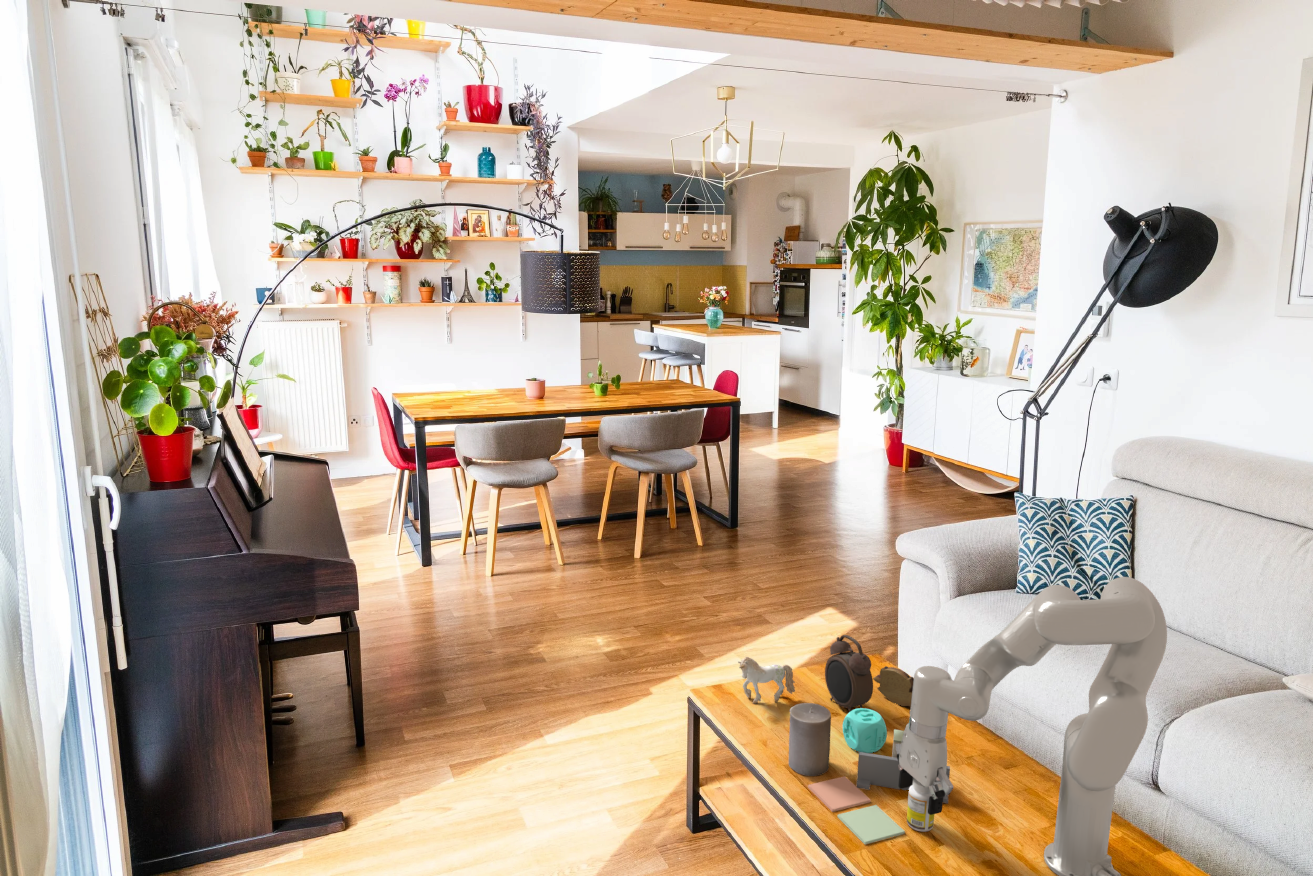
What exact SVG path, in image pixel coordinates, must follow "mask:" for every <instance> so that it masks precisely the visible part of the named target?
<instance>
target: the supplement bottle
mask: <svg viewBox="0 0 1313 876" xmlns="http://www.w3.org/2000/svg"><path fill="white" fill-rule="evenodd" d="M930 796H932V795H931V792H930V789H929V787H926V786H924V785H922V784H921V783H920V782H919V781H917V780H916V779H915V778H914V780H913V785H911V786H910V788H909V791H908V796H907V810H906V811H907V812H906V822H907V825H908V826H909V827H910V828H911V829H912V830H914V831H918V832H925V833H926V832H929V831H931V830H932V829H933V827H934V825H935V824H934V823H935V814H933V815H930V814H928V805H929V797H930Z"/></svg>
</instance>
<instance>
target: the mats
mask: <svg viewBox="0 0 1313 876" xmlns="http://www.w3.org/2000/svg"><path fill="white" fill-rule="evenodd" d="M807 788H808V789H809V791H811V792H812V793H813V794H814V795H815V796H816V797H817V798H818V799H819V801H821V802H822V803H823V804H824V805H825V806H826V807H827V808H828V809H829V810H830V812H832V813H834V812H837V811H841V810H846V809H849V808H853V807H858V806H862V805H865V804H869V803H871V801H872V800H871V799H870V798H869V797H868V795H866V794H865V793H864V792H863V791H862V790H861V789H860V788H857V787H856V784H854V783H853V782H852V781H851V780H850V779H848V777H846V776H845V775H844V776H841V777H835V778H832V779H828V780H823V781H819V782H814V783H810V784H808V785H807ZM836 816H837V819H839V821H841V822H842V823H843V824H844V825H845V826H846V827H847V828H848V829H849V830H850V832H852V833H853V835H855V837H856V838H858V839H859V840H860V841H861V843H863V844H864V845H868V844H872V843H875V842H879V841H880V842H881V841H883V840H887V839H891V838H894V836H895V837H898V836H901V835H905V834H906V830H904V828H902V827H901V826H900V825H898V824H897V822H895V820H893V819H892V818H891V817H890V816H889V815H888V814H887V813H886V812H885V811H884V810H882V809H881V807H879V806H878V805H877V804H875V805H874V804H873V805H871V806H866V807H861V808H859V809H854V810H851V811H847V812H842V813H838V814H837V815H836ZM890 837H891V838H890Z"/></svg>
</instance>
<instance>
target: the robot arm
mask: <svg viewBox="0 0 1313 876" xmlns="http://www.w3.org/2000/svg"><path fill="white" fill-rule="evenodd" d="M1167 641H1168V628H1167V621H1166V617H1165V613H1164V611H1163V608H1162V605H1161V603H1160V601H1159V600H1158V599H1157V597H1156V596H1155V595H1154V593H1153V592H1152V591H1151V590H1150V589H1149V588H1148V587H1147V586H1146V585H1145V584H1144V583H1142V582H1141V581H1139V580H1137V579H1136V578H1133V577H1128V576H1120V577H1116V578H1114V579H1112V580H1110V581H1109V582H1108V583H1107V584H1106V585H1105V586H1104V587H1103V590H1102V591H1101V594H1100V598H1099V599H1083V600H1081V598H1080V596H1079V595H1078V594H1077V593H1076V591H1074V590H1073V589H1072V588H1070V587H1068V586H1066V585H1062V584H1055V585H1054V584H1053V585H1049V586H1047V587H1046V588H1044V589H1043V590H1041V591H1040V592H1039V593H1037V595H1035V597H1034V598H1033V599H1032V600H1031V601H1030V602H1029V603H1028V604H1027V605H1026V606H1025V607H1024V608H1023V609H1022V610H1021V611H1020V613H1019V614H1017V616H1015V618H1013V620H1011V622H1009V624H1008V625H1006V627H1005V628H1003V630H1001V631H1000V632H999V633H998V634H997V635H995V636H994V637H992V638H991V639H990V640H988V641H987V642H985V643H984V644H983V645H982V646H981V647H980V648H978V650H976V652H974V653H973V654H972V655H971V656H970V658H969V659H968V660H966V661H965V663H964V664H963V665H962V666H961V667H960V668H959V670H957V672H956V675H955V676H954V679H953V678H952V676H951V674H950V673H949V672H948V671H947V670H945V669H943V668H941V667H939V666H931V665H924V666H921V667H918V668H917V669H916V671H915V672H914V675H913V678H914V682H913V691H912V700H911V707H910V710H909V718H908V719H909V721H908V723H907V724H906V726H905V728H904V730H903V731H904V734H903V737H902V742H901V743H898V744H896V745H895V746H896V751H897V759H898V762H899V765H898V768H899V770H901V771H900V775H899V784H898V787H899V788H900V789H902V788H907V787H910V786H911V785H912V780H913V777H914V778H915V779H916V780H917V781H919V782H920V783H921V784H922V785H924V786H926V787H929V789H930V792H931V795H932V796H930V797H929V805H928V814H930V815H933V814H934V815H937V814H940V813H942V811H943V805H944V803H943V797H946V796H947V795H948V796H949V795H950V794H951V792H952V791H953V790H954V785H953V783H952V782H951V780H950V777H949V778H948V777H947V775H946V769H947V766H948V745H947V738H946V737H947V728H948V720H949V715H950V714H951V715H953V716H955V717H957V718H959V719H963V720H965V721H971V722H972V721H973V722H976V721H980V720H982V719H983V718H985V716H986V715H987V714H988V711H989V710H990V704H991V696H992V691H993V690H994V689H995V688H996V687H997V685H998V684H999V683H1000V682H1002V681H1003V679H1005V677H1007V676H1008V675H1009V674H1010V673H1011V672H1013V671H1014V670H1015V669H1016V668H1017V669H1018V668H1019V667H1021V666H1022V667H1023V666H1026V667H1033V666H1035V665H1036V664H1037V663H1039V662H1040V661H1041V660H1042V659H1043V658H1044V657H1045V656H1046V655H1047V654H1048V653H1049V651H1051V650H1052V649H1053V648H1054V647H1055V646H1056V645H1060V646H1095V645H1096V646H1100V645H1111V646H1110V648H1109V649H1108V653H1107V655H1106V657H1105V659H1104V660H1103V663H1102V665H1101V667H1100V669H1099V671H1098V672H1097V675H1096V676H1095V678H1094V680H1093V682H1092V683H1091V685H1090V687H1089V691H1088V713H1081V714H1079V715H1076V716H1075V717H1074V718H1073V719H1071V720H1070V722H1068V725H1067V726H1066V729H1065V733H1064V739H1063V754H1062V765H1061V767H1062V769H1061V776H1060V785H1059V792H1058V800H1057V801H1058V802H1057V809H1056V820H1055V828H1054V837H1053V842H1051V843H1049V844H1048V845H1047V846H1045V848H1044V851H1043V853H1044V854H1043V858H1044V862H1045V864H1046V866H1047V867H1048V868H1049V869H1050V870H1051V871H1052V872H1053V873H1054V874H1055V875H1057V876H1122V874H1121V873H1120V872H1118V870H1116V869H1114V867H1113V864H1112V856H1111V855H1109V854H1108V847H1109V840H1110V832H1111V824H1112V816H1113V807H1114V800H1115V794H1116V785H1117V784H1118V783H1120V781H1121V780H1122V778H1123V777H1124V775H1125V773H1126V771H1127V770H1128V768H1129V766H1130V764H1131V762H1132V760H1133V758H1134V757H1135V755H1136V753H1137V751H1138V749H1139V747H1140V745H1141V743H1142V741H1143V740H1144V736H1145V735H1146V731H1147V728H1148V723H1149V713H1148V708H1147V695H1148V692H1149V690H1150V688H1151V685H1152V684H1153V682H1154V679H1155V677H1156V675H1157V672H1158V670H1159V668H1160V665H1161V663H1162V661H1163V658H1164V655H1165V652H1166V647H1167V644H1168V643H1167ZM935 780H936V782H935ZM934 785H938V788H939V791H937V792H936V789H935V786H934ZM900 789H899V790H900Z"/></svg>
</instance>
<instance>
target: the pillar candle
mask: <svg viewBox="0 0 1313 876" xmlns="http://www.w3.org/2000/svg"><path fill="white" fill-rule="evenodd" d="M831 724H832V714H831V711H830V710H829V709H828V708H827V707H825V706H823V705H821V704H818V703H812V702H803V703H802V702H801V703H797V704H795V705H794V706H792V707H790V709H789V734H788V735H789V737H788V766H789V768H790V769H792V770H793V771H794V772H796V774H800V775H803V776H808V777H815V776H820V775H823V774H826V773H827V772H828V771H829V769H830V753H831V752H830V750H831V729H832V728H831V726H832V725H831Z"/></svg>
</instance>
